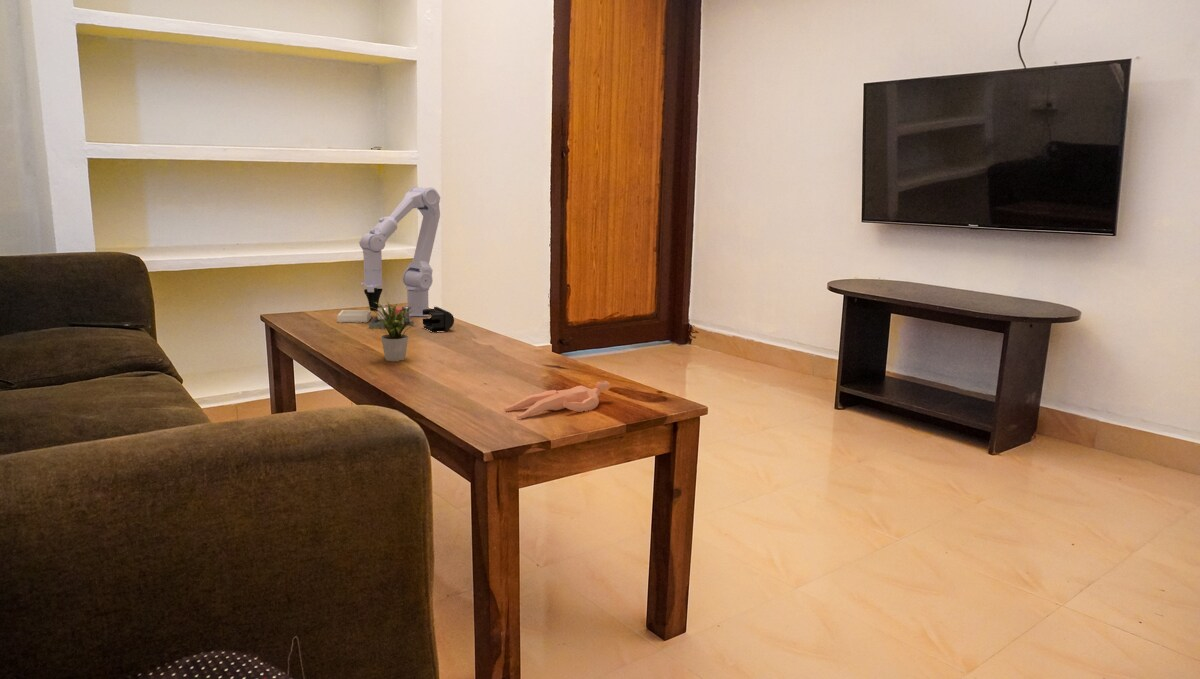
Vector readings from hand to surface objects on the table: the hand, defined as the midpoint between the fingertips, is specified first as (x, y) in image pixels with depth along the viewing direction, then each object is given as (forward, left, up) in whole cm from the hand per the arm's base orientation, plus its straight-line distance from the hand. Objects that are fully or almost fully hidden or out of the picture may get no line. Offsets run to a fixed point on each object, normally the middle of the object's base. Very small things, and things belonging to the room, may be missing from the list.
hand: (373, 310), depth 262 cm
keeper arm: (+2, +5, -1) cm, 5 cm away
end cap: (+15, +22, -4) cm, 27 cm away
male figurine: (+101, +52, -4) cm, 114 cm away
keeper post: (+6, +11, -3) cm, 13 cm away
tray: (-1, -6, -3) cm, 7 cm away
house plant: (+55, +11, -4) cm, 56 cm away
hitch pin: (+9, +4, -3) cm, 11 cm away
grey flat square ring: (+9, +4, -3) cm, 11 cm away
